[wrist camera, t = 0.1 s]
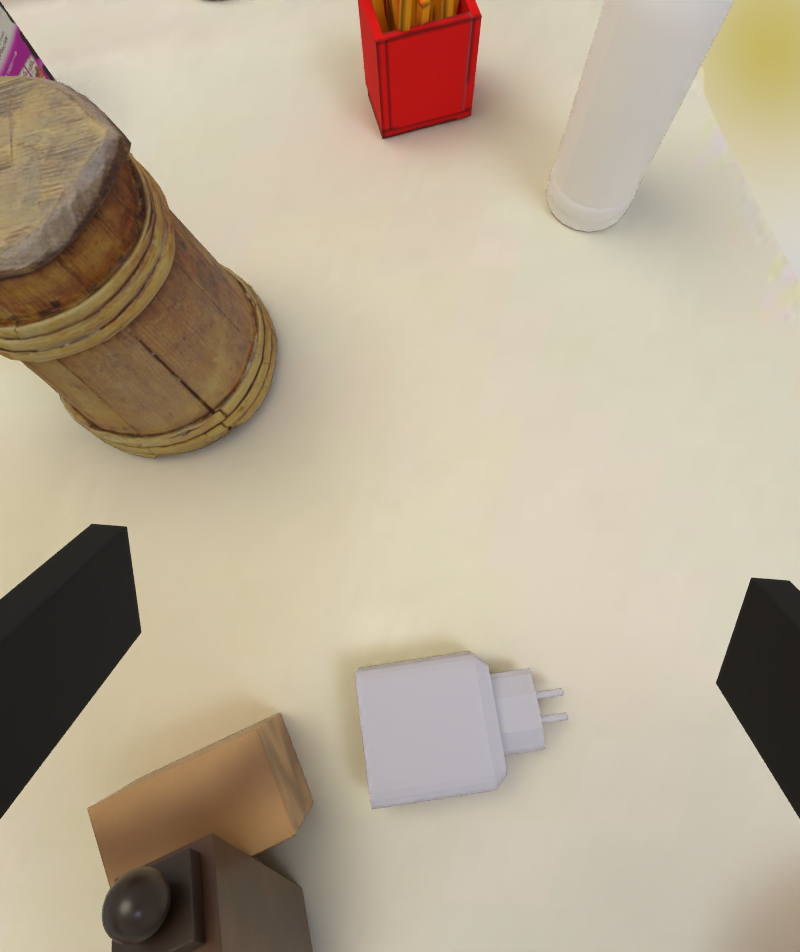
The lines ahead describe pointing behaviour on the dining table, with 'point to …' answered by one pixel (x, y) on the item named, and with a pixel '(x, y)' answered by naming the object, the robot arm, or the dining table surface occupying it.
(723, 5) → the bottle
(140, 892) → the pepper mill
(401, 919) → the dining table surface
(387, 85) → the french fries container
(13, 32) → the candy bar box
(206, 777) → the wooden block
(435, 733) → the charger
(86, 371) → the tankard
